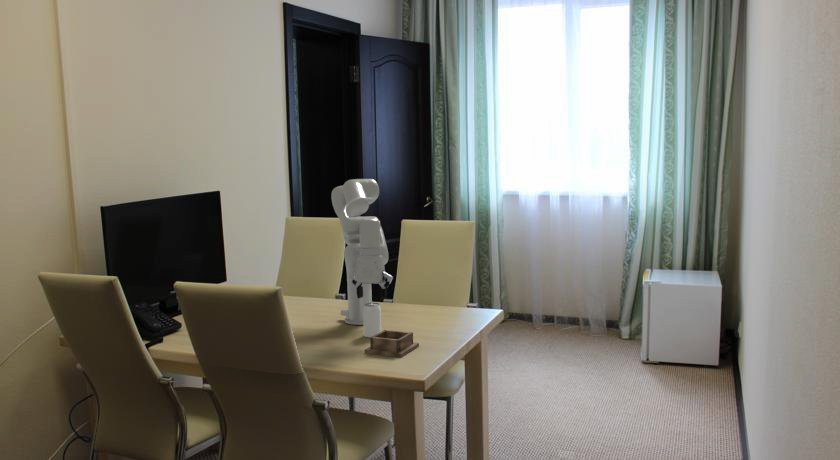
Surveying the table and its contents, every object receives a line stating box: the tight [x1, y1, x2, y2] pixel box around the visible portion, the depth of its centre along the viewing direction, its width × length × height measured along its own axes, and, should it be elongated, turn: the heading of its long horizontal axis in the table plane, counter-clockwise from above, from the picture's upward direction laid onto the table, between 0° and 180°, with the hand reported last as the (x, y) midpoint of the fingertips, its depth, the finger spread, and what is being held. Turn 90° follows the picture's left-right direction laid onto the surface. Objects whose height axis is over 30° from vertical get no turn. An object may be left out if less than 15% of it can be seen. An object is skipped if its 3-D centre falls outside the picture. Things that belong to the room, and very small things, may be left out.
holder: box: [364, 329, 420, 358], centre depth 255 cm, size 14×14×5 cm
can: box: [363, 302, 382, 339], centre depth 273 cm, size 6×6×12 cm
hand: (371, 298), depth 272 cm, fingers open, 9 cm apart
